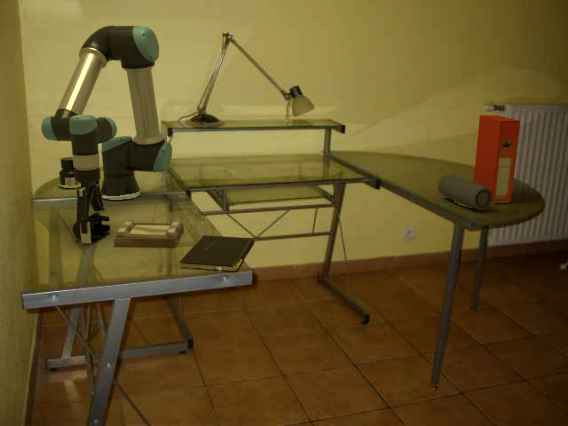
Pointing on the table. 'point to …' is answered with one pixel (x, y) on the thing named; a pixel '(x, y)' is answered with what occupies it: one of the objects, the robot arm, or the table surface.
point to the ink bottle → (67, 172)
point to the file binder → (496, 155)
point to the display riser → (148, 234)
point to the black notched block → (94, 228)
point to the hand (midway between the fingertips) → (92, 236)
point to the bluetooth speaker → (465, 192)
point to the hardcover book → (217, 252)
